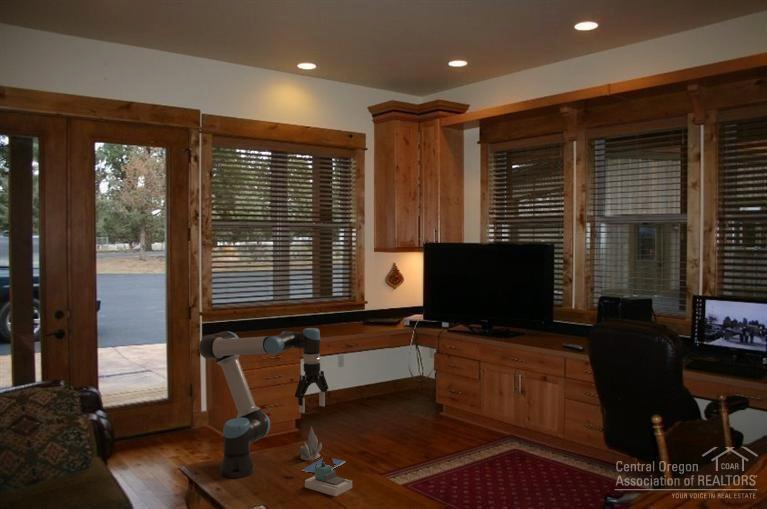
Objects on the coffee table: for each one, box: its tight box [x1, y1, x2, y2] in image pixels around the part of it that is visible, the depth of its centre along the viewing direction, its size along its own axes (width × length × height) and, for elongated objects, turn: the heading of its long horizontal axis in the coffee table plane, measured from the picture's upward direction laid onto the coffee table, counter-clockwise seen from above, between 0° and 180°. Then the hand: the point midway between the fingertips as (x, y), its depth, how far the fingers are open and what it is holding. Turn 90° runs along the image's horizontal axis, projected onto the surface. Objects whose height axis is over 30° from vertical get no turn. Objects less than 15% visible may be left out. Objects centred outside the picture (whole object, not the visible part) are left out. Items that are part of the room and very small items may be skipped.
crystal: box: [299, 426, 323, 461], centre depth 311 cm, size 10×13×15 cm
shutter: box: [324, 469, 346, 486], centre depth 271 cm, size 6×6×3 cm
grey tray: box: [304, 475, 353, 497], centre depth 273 cm, size 17×11×4 cm, turn 55°
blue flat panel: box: [301, 457, 346, 473], centre depth 299 cm, size 19×13×1 cm, turn 153°
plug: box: [314, 462, 333, 482], centre depth 275 cm, size 5×5×10 cm
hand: (312, 409), depth 291 cm, fingers open, 13 cm apart
